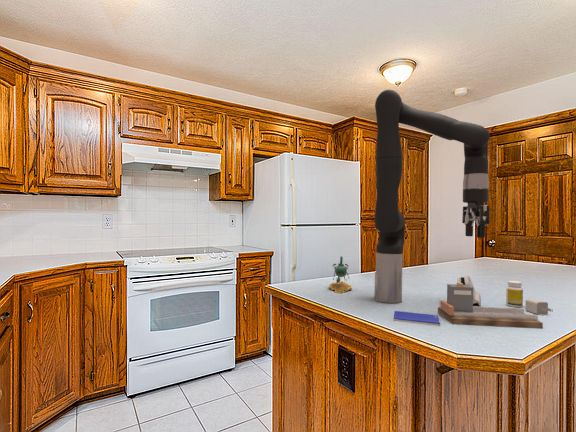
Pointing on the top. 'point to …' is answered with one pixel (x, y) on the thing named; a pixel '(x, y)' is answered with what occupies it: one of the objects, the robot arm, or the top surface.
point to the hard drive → (416, 318)
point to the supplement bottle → (514, 294)
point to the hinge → (476, 295)
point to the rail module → (460, 297)
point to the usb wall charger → (537, 307)
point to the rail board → (490, 316)
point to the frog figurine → (340, 272)
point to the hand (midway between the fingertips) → (474, 237)
